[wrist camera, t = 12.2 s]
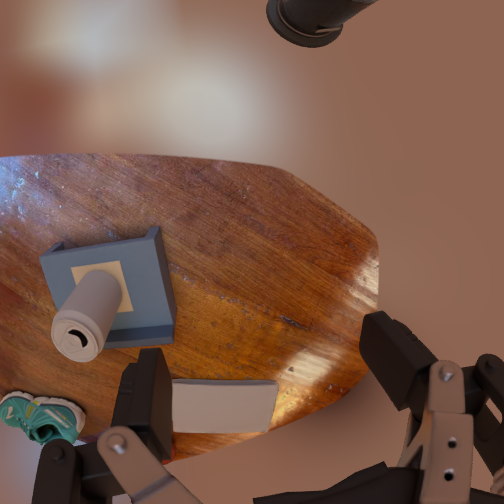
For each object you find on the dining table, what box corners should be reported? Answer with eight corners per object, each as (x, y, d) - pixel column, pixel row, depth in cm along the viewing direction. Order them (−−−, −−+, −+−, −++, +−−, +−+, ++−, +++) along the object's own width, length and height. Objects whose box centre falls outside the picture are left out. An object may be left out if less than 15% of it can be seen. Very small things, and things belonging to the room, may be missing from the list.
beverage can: (132, 294, 37) (112, 350, 26) (102, 316, 37) (79, 372, 26) (101, 259, 35) (68, 306, 24) (73, 284, 35) (38, 334, 24)
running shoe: (-5, 387, 46) (-20, 416, 35) (72, 387, 48) (58, 427, 38) (18, 415, 50) (6, 444, 39) (95, 419, 53) (87, 456, 42)
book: (268, 422, 60) (271, 434, 57) (168, 422, 56) (168, 435, 52) (282, 379, 55) (287, 392, 52) (166, 377, 51) (165, 391, 47)
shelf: (55, 243, 38) (29, 265, 30) (159, 225, 41) (150, 246, 32) (80, 319, 43) (63, 350, 35) (176, 309, 46) (174, 343, 38)
